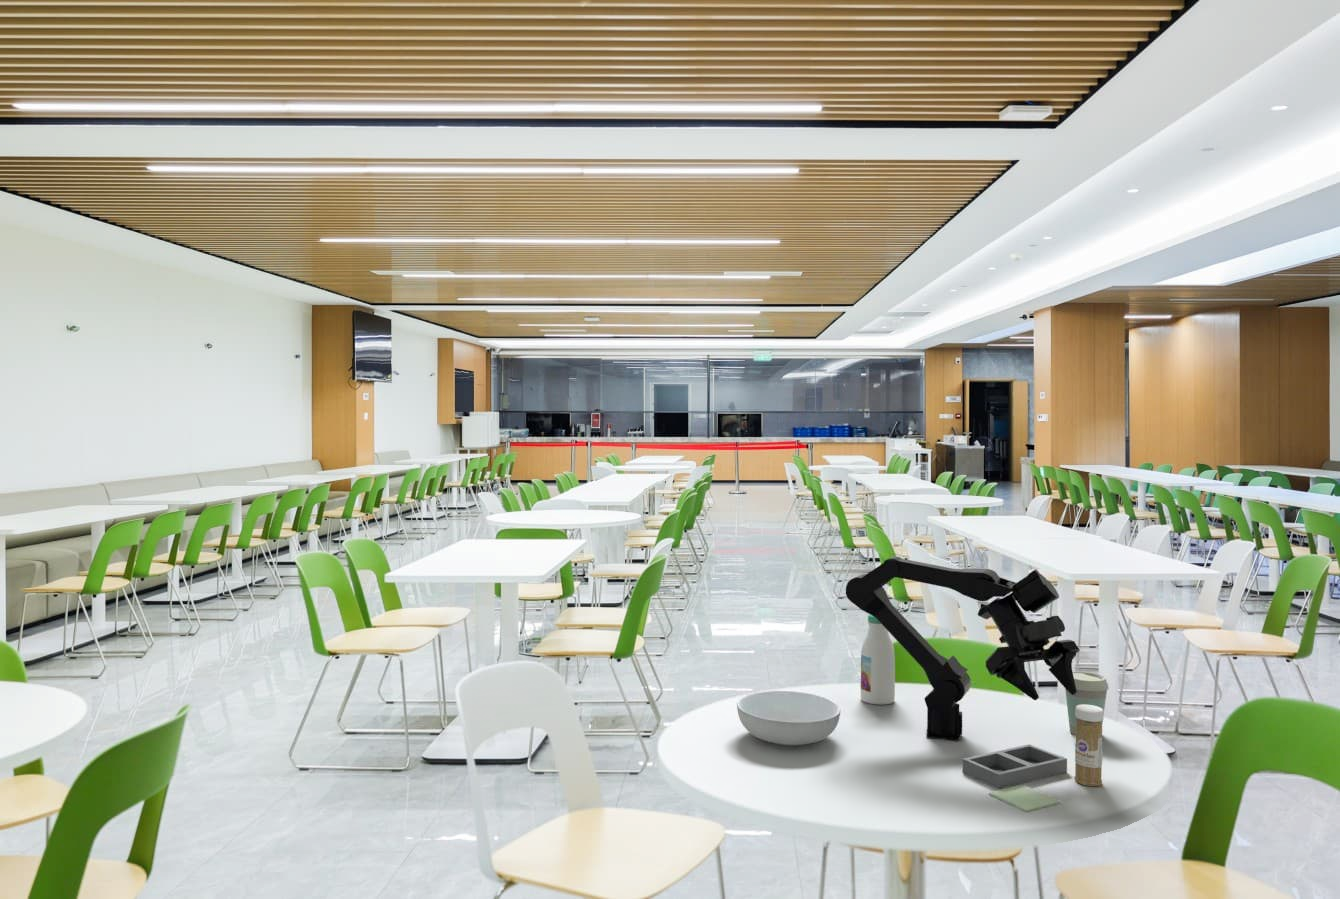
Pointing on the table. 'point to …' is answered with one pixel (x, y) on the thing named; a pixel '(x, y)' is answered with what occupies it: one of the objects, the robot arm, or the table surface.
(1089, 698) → the coffee cup
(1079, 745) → the sprinkles bottle
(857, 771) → the table surface
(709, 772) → the table surface
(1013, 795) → the pad
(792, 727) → the serving bowl
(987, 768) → the tray
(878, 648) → the milk bottle
